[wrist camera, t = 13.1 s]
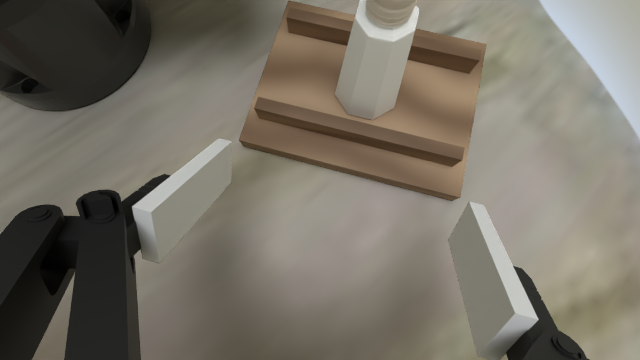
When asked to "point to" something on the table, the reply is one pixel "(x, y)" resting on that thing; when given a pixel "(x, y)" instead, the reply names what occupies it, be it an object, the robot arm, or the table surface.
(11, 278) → the robot arm
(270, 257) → the table surface
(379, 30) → the pepper shaker
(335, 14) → the rack
